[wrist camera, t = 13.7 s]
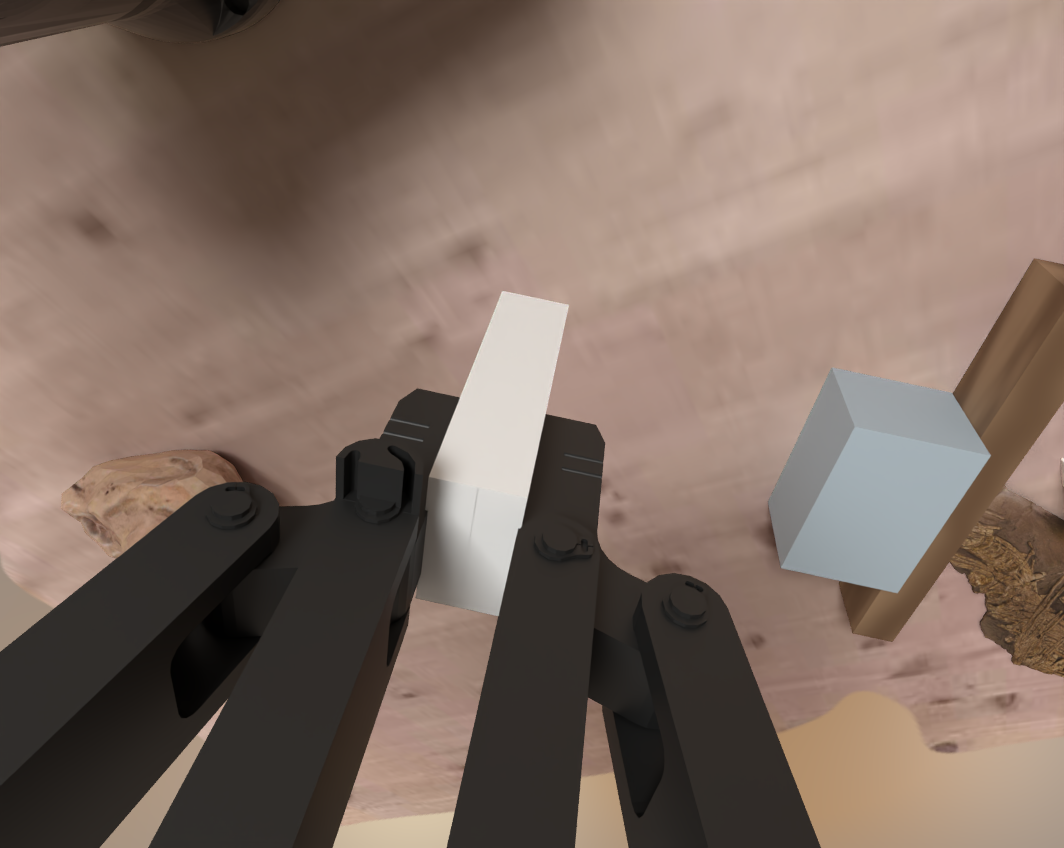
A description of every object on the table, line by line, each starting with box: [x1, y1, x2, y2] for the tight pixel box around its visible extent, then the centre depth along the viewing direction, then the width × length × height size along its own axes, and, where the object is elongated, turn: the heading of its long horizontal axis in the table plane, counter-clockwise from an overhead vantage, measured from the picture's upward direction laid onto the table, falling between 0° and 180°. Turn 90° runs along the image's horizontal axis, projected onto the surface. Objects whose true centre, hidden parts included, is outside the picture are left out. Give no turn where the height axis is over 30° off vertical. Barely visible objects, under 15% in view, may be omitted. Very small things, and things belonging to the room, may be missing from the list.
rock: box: [61, 450, 243, 558], centre depth 58 cm, size 18×10×10 cm, turn 115°
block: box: [768, 368, 991, 593], centre depth 49 cm, size 8×12×7 cm, turn 171°
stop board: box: [839, 259, 1064, 642], centre depth 49 cm, size 3×28×5 cm, turn 171°
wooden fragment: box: [950, 485, 1064, 677], centre depth 57 cm, size 26×11×1 cm, turn 36°
